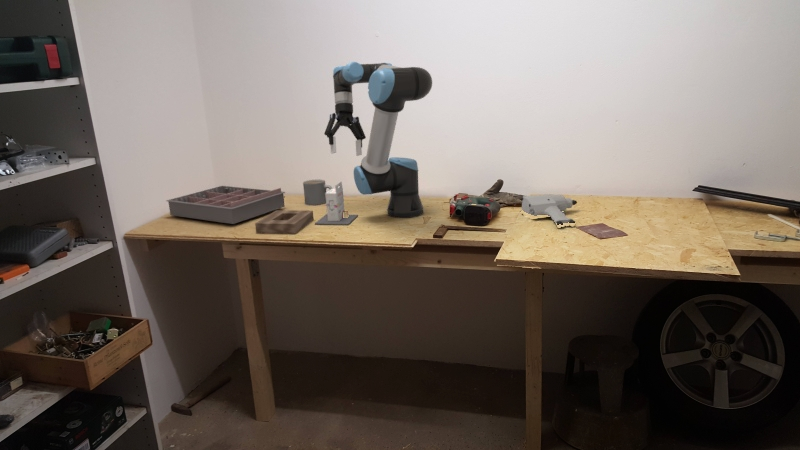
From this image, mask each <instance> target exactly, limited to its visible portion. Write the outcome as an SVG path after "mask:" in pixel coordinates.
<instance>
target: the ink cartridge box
mask: <svg viewBox="0 0 800 450" xmlns="http://www.w3.org/2000/svg"><path fill="white" fill-rule="evenodd" d="M325 196H326V203H325V204H326V212H327V213H326V214H327V216H328V221H340V220H341V219H342V218H343V212H345V202H344V201H345V199H344V188H343V183H342V181H340V182H338V183H337V184H335V185H334V188H333V189H331V190H330V189H328V191H326V193H325Z"/></svg>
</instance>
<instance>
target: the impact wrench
mask: <svg viewBox="0 0 800 450" xmlns="http://www.w3.org/2000/svg"><path fill="white" fill-rule="evenodd" d="M577 204H578V203H577V200H575V199H572V198H571V197H565V196H564V195H562V194H548V193H547V194H546V193H544V194H543V193H542V194H535V195H525V196H522V197H521V210H520V212H521V211H522V210H523V211H524V212H526V213H528V214H531V215H534V216H537V215H548V216H550V217H551V218H550V219H552V221H553V220H554V221H553V222H555V223H557V225H559V224H561V225H563V223H568V222H569V223H575V222H576V221H575V220H574V219H573V218H569V217H568V216H566V211H567V209H572V208H573V206H574V205H577ZM565 210H566V211H565ZM562 211H565V212H562ZM555 223H554V224H555Z"/></svg>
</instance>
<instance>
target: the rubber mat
mask: <svg viewBox="0 0 800 450" xmlns="http://www.w3.org/2000/svg"><path fill="white" fill-rule="evenodd" d="M348 215H349V217H348V218H342V219H341V220H340V221H328V216H327V213H326V214H325V215H324V216H322V217H321V218H319V220H317V221H316V222H314V225H315V226H349V225H351V224H352V223H353V222H354V221H355V220H356V219H357V218H358V217H359V214H348Z"/></svg>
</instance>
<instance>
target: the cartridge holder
mask: <svg viewBox="0 0 800 450" xmlns="http://www.w3.org/2000/svg"><path fill="white" fill-rule="evenodd" d="M313 221H314V210H303V209H302V210H299V209H296V210H293V209H292V210H287V209H286V210H284V209H281V210H279V209H276V210H273V212H272V213H271V212H270V213H269V214H268V215H266V216H265V217H263V218H262V219H260V220H258V221H257V222H255V223H254V226H255V233H256V234H261V235H262V234H264V235H265V234H266V235H268V234H270V235H275V234H276V235H277V234H278V235H296V234H298V233H299V232H301V230H303V229H304V228H306V227H307V226H308V225H309V224H310V223H312V222H313Z"/></svg>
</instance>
